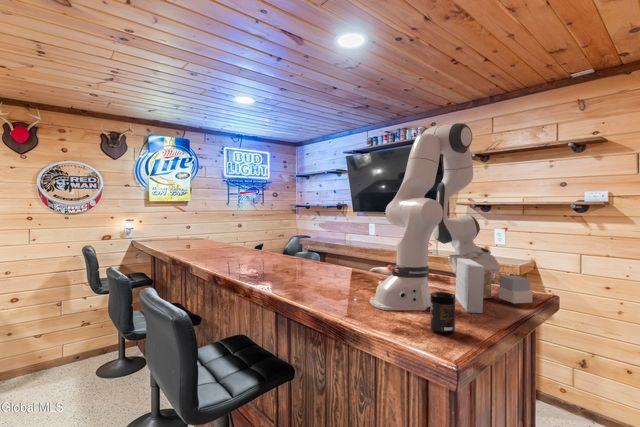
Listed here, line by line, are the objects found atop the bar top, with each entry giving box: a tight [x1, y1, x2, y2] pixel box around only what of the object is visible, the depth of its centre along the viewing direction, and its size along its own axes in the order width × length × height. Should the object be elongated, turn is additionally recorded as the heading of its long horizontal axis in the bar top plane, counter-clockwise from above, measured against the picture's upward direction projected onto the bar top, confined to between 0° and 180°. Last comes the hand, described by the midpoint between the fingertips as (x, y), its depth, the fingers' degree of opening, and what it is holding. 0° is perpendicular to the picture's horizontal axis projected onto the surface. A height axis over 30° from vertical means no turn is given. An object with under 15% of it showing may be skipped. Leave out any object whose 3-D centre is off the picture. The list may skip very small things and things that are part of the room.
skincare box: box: [454, 258, 485, 314], centre depth 122 cm, size 21×5×16 cm, turn 168°
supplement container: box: [429, 291, 456, 336], centre depth 95 cm, size 7×7×10 cm
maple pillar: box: [483, 271, 492, 299], centre depth 135 cm, size 5×5×10 cm
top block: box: [499, 274, 530, 291], centre depth 130 cm, size 7×7×4 cm
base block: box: [498, 286, 533, 304], centre depth 129 cm, size 8×8×4 cm
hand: (483, 282), depth 134 cm, fingers open, 7 cm apart
